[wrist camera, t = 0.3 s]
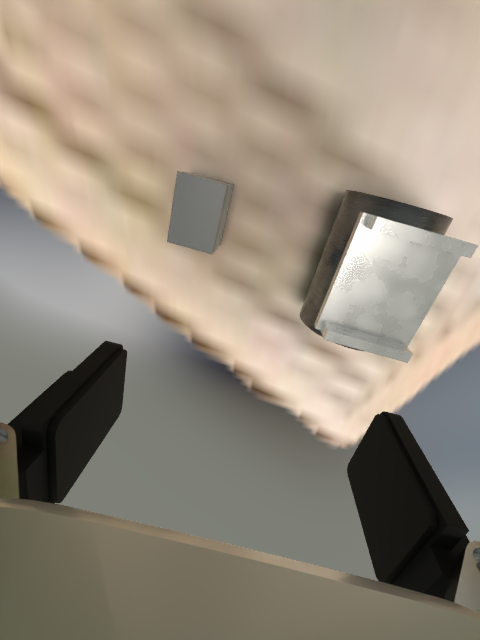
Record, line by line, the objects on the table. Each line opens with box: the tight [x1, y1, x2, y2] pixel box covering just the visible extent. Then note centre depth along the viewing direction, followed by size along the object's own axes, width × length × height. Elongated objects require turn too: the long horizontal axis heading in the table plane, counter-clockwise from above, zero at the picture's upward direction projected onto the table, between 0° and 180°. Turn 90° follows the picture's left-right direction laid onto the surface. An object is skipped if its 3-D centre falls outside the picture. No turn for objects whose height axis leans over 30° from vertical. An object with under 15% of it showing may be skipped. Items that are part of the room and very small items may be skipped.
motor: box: [300, 190, 478, 363], centre depth 31 cm, size 14×10×13 cm
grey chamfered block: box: [167, 171, 234, 254], centre depth 33 cm, size 7×5×6 cm
